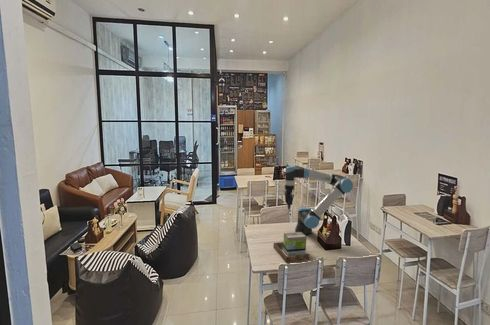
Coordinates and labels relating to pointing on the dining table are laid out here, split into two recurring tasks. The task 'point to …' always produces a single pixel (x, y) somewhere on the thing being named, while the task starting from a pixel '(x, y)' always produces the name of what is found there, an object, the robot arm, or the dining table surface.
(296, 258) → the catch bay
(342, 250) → the dining table surface
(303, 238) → the tea box
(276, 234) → the dining table surface
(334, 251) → the dining table surface
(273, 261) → the dining table surface
